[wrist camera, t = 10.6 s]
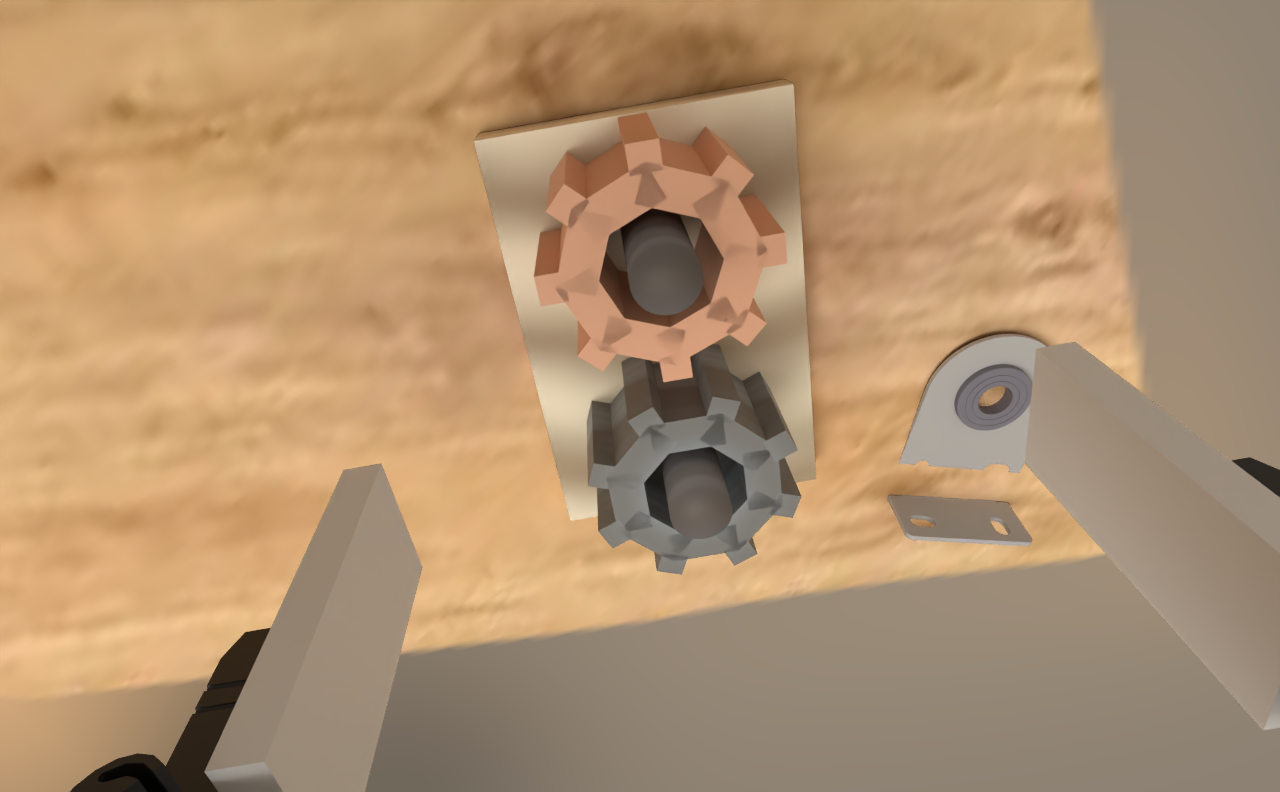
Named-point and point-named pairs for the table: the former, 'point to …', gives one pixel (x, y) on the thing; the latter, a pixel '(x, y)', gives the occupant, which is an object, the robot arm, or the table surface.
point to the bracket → (971, 438)
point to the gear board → (633, 387)
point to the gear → (619, 193)
